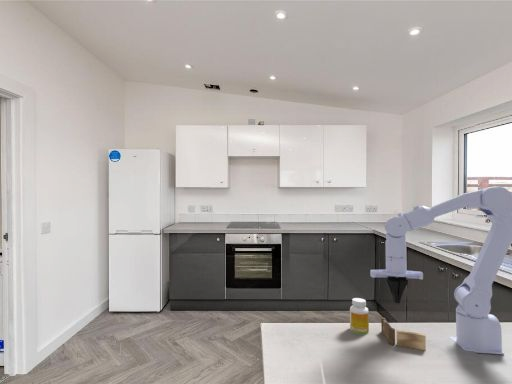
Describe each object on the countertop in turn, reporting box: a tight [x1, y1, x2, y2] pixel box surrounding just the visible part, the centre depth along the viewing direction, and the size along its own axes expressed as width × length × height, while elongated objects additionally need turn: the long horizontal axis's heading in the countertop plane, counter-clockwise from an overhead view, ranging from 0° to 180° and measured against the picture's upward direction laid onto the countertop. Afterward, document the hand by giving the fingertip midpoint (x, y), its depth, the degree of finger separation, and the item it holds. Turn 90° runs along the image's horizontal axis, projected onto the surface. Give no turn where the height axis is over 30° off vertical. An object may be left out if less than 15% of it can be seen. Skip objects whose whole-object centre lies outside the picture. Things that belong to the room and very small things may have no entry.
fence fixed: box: [380, 317, 396, 346], centre depth 83 cm, size 2×9×5 cm, turn 172°
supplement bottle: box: [349, 297, 370, 335], centre depth 87 cm, size 5×5×10 cm
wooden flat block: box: [396, 329, 427, 351], centre depth 77 cm, size 7×1×4 cm, turn 67°
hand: (396, 302), depth 87 cm, fingers closed
